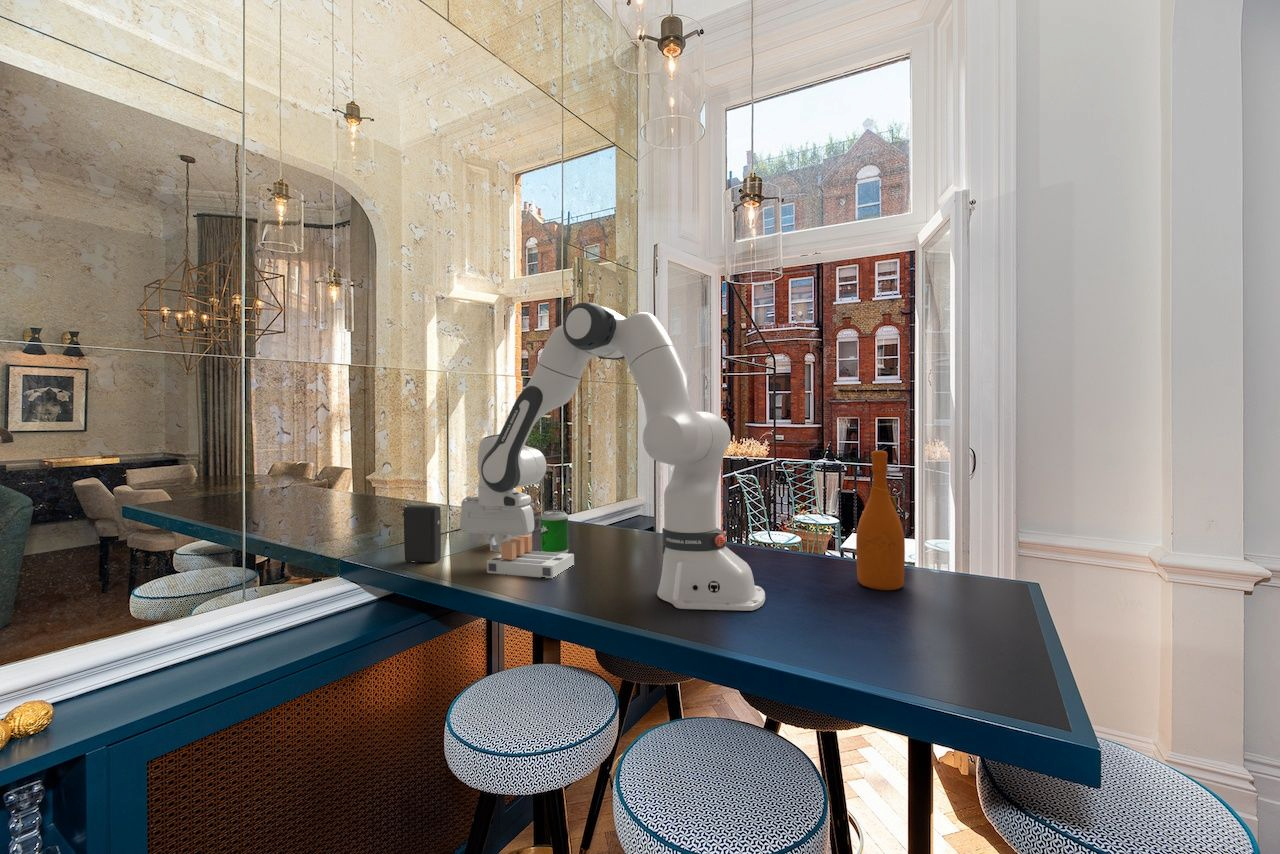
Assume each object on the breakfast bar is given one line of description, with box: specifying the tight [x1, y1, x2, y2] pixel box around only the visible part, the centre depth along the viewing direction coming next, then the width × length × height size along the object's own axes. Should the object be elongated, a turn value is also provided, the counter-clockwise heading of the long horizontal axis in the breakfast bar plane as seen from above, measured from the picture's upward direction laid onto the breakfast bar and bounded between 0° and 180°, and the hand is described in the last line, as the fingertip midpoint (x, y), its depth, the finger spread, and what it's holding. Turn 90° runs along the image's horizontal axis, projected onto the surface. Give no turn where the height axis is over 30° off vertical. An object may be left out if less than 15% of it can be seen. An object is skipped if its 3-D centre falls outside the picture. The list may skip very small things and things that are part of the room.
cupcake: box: [528, 501, 541, 529], centre depth 188 cm, size 10×10×10 cm
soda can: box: [540, 509, 569, 553], centre depth 151 cm, size 8×8×12 cm
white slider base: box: [486, 550, 575, 579], centre depth 137 cm, size 18×12×3 cm
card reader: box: [403, 504, 442, 563], centre depth 146 cm, size 9×4×15 cm, turn 82°
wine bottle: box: [855, 449, 906, 591], centre depth 120 cm, size 10×10×30 cm
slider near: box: [500, 541, 516, 560], centre depth 134 cm, size 3×2×4 cm, turn 72°
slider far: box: [518, 534, 533, 552], centre depth 142 cm, size 3×2×4 cm, turn 72°
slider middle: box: [510, 538, 525, 556], centre depth 138 cm, size 3×2×4 cm, turn 72°
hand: (496, 550), depth 140 cm, fingers closed
